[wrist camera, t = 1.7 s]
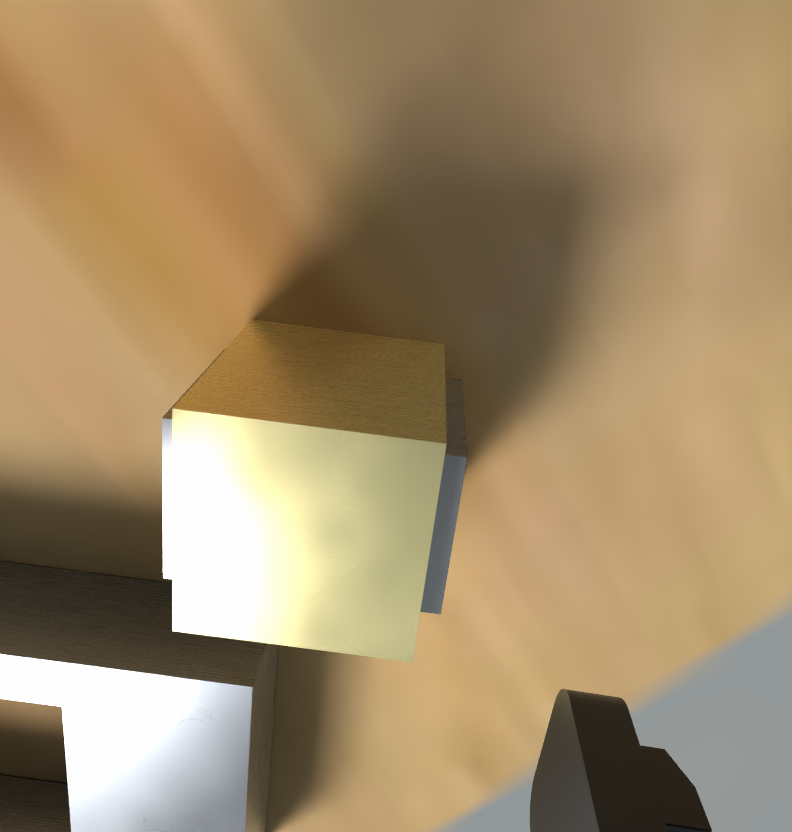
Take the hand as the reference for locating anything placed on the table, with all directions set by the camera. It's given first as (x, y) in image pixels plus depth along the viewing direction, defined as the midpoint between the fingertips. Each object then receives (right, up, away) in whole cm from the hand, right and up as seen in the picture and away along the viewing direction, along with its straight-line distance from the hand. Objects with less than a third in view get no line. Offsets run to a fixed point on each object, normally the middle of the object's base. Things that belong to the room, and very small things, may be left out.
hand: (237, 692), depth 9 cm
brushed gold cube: (+1, +3, +7) cm, 8 cm away
